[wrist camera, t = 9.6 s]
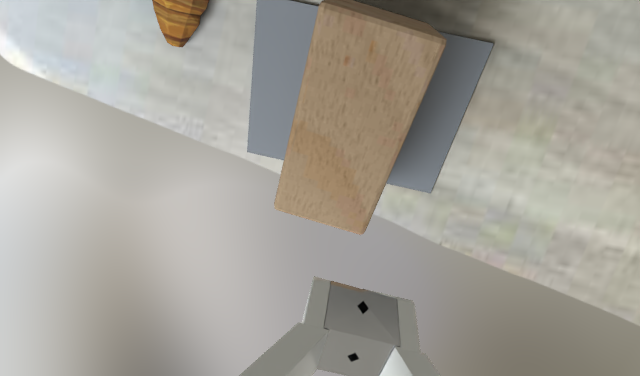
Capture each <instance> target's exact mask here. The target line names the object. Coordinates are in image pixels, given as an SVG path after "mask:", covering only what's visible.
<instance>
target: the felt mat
mask: <svg viewBox="0 0 640 376" xmlns="http://www.w3.org/2000/svg"><path fill="white" fill-rule="evenodd" d="M318 7H319V6H315V5H310V4H305V3H301V2H296V1H291V0H257V7H256V23H255V39H254V54H253V70H252V86H251V101H250V117H249V132H248V148H247V152H250V153H254V154H258V155H263V156H267V157H272V158H276V159H281V160H284V158H285V154H286V149H287V145H288V140H289V136H290V132H291V127H292V123H293V118H294V114H295V109H296V105H297V100H298V96H299V92H300V87H301V83H302V78H303V74H304V69H305V65H306V61H307V56H308V52H309V47H310V43H311V38H312V34H313V30H314V25H315V21H316V16H317V12H318ZM437 32H438V31H437ZM439 33H440V34H441V35H442V36H443V37H444V38H445V39H447V40H446V47H445V49H444V51H443V54H442V56H441V58H440V61H439V63H438V65H437V67H436V70H435V72H434V74H433V77H432V79H431V81H430V84H429V86H428V88H427V90H426V93H425V95H424V97H423V100H422V102H421V104H420V106H419V109H418V111H417V113H416V116H415V118H414V120H413V123H412V125H411V127H410V129H409V132H408V134H407V136H406V139H405V141H404V143H403V146H402V148H401V150H400V152H399V155H398V157H397V159H396V162H395V164H394V166H393V168H392V171H391V173H390V175H389V178H388V180H387V182H386V183H387V184H391V185H396V186H400V187H405V188H409V189H413V190H418V191H422V192H427V193H431V190H432V188H433V186H434V183H435V181H436V179H437V176H438V174H439V172H440V169H441V167H442V164H443V162H444V160H445V157H446V155H447V153H448V150H449V148H450V146H451V143H452V141H453V139H454V136H455V134H456V132H457V129H458V127H459V124H460V122H461V120H462V117H463V115H464V113H465V110H466V108H467V106H468V103H469V101H470V99H471V96H472V94H473V91H474V89H475V87H476V84H477V82H478V80H479V77H480V75H481V73H482V70H483V68H484V66H485V63H486V61H487V58H488V56H489V54H490V51H491V49H492V47H493V43H490V42H485V41H480V40H475V39H471V38H466V37H461V36H457V35H452V34H447V33H442V32H439Z"/></svg>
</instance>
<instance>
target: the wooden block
mask: <svg viewBox="0 0 640 376" xmlns="http://www.w3.org/2000/svg"><path fill="white" fill-rule="evenodd" d="M446 40H447V39H445V38H444V37H443V36H442V35H441V34H440V33H439V32H437V31H436V30H435V29H434V28H433V27H432V26H430V25H429V24H428V23H425V22H422V21H419V20H416V19H412V18H409V17H406V16H403V15H399V14H396V13H393V12H390V11H386V10H383V9H380V8H377V7H373V6H370V5H367V4H364V3H360V2H357V1H354V0H324V1H322V2H321V3H320V5H319V7H318V12H317V16H316V21H315V25H314V30H313V34H312V38H311V43H310V47H309V52H308V56H307V61H306V65H305V69H304V74H303V78H302V83H301V87H300V92H299V96H298V100H297V105H296V109H295V114H294V118H293V123H292V127H291V132H290V136H289V140H288V145H287V149H286V154H285V158H284V163H283V167H282V171H281V176H280V180H279V185H278V189H277V194H276V198H275V202H274V206H275V209H276V210H279V211H282V212H286V213H289V214H292V215H296V216H299V217H303V218H306V219H309V220H312V221H316V222H319V223H323V224H326V225H330V226H333V227H336V228H340V229H343V230H346V231H349V232H353V233H356V234H359V235H360V234H363V233H364V232H365V230H366V228H367V226H368V224H369V221H370V219H371V217H372V214H373V212H374V210H375V208H376V205H377V203H378V201H379V198H380V196H381V194H382V191H383V189H384V187H385V185H386V182H387V180H388V178H389V175H390V173H391V171H392V168H393V166H394V164H395V162H396V159H397V157H398V155H399V152H400V150H401V148H402V146H403V143H404V141H405V139H406V136H407V134H408V132H409V129H410V127H411V125H412V123H413V120H414V118H415V116H416V113H417V111H418V109H419V106H420V104H421V102H422V100H423V97H424V95H425V93H426V90H427V88H428V86H429V84H430V81H431V79H432V77H433V74H434V72H435V70H436V67H437V65H438V63H439V61H440V58H441V56H442V54H443V51H444V49H445V47H446Z"/></svg>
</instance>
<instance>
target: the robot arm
mask: <svg viewBox="0 0 640 376" xmlns="http://www.w3.org/2000/svg"><path fill="white" fill-rule="evenodd" d="M316 369H319V370H324V371H328V372H333V373H337V374H342V375H346V376H441V375H440V373H439V372H438V370H437V369H436V368H435V366H434V365H433V363H432V362H431V360H430V359H429V358H428V356H427V355H426V354H424V353H421V351H420V343H419V335H418V328H417V319H416V312H415V304H414V302H413V301H411V300H408V299H403V298H399V297H394V296H391V295H387V294H383V293H378V292H374V291H370V290H365V289H359V288H356V287H352V286H349V285H345V284H341V283H338V282H334V281H329V280H325V279H322V278H317V277H314V278H313V281H312V285H311V289H310V293H309V296H308V300H307V304H306V308H305V312H304V316H303V321H302V323H297V324H296V325H295V326H294V327H293V328H292V329H291V330H290V331H288V332H287V333H286V334H285V335H284V336H283V337H282V338H281V339H279V341H277V342H276V343H275V344H274V345H273V346H272V347H271V348H270V349H268V350H267V351H266V352H265V353H264V354H263V355H262V356H261V357H259V358H258V359H257V360H256V361H255V362H254V363H253V364H252V365H251V366H250V367H248V368H247V369H246V370H245V371H244V372H243V373H242V374H240V375H239V376H312V375H313V374H314V373H315V371H316Z"/></svg>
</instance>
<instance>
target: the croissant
mask: <svg viewBox="0 0 640 376" xmlns="http://www.w3.org/2000/svg"><path fill="white" fill-rule="evenodd" d="M152 1H153V6H154V10H155V13H156V17H157V20H158V23H159V26H160V29H161V31H162V33H163V35H164V37H165V39H166V41H167V42H168V43H169V44H171V45H172V46H176V47H183V46H184V45H185V44H186V42H187V41H188V40H189V38H190V37H191V35H192V34H193V33H194V31H195V30H196V28H197V27H198V25H199V22H200V16H201V14H202V13H203V12H204V11H205V9H206V8H207V5H208V2H209V0H152Z"/></svg>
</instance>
